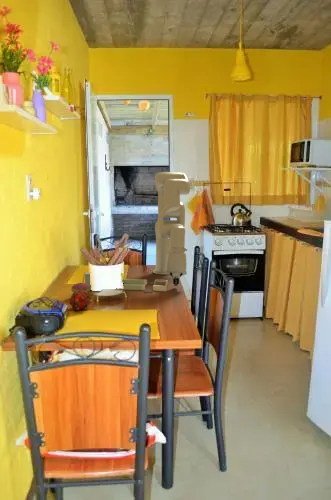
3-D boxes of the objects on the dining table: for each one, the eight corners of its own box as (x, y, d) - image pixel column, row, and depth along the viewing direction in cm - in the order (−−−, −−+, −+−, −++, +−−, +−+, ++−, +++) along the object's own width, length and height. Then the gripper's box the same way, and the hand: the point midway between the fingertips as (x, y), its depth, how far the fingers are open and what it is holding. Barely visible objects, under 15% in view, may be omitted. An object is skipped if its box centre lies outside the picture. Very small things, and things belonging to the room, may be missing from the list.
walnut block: (156, 286, 220) (156, 279, 219) (165, 287, 220) (165, 279, 219) (155, 289, 215) (155, 281, 214) (164, 289, 215) (165, 281, 214)
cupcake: (83, 294, 201) (83, 270, 199) (93, 298, 195) (93, 273, 193) (67, 297, 195) (67, 272, 193) (78, 301, 189) (77, 275, 187)
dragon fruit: (87, 308, 185) (77, 320, 174) (72, 296, 185) (60, 308, 174) (97, 294, 182) (87, 306, 171) (82, 283, 182) (70, 294, 171)
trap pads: (147, 282, 228) (147, 281, 228) (155, 282, 228) (155, 282, 228) (143, 292, 207) (143, 291, 207) (151, 292, 207) (151, 292, 207)
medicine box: (102, 289, 211) (102, 272, 209) (100, 292, 206) (100, 274, 205) (87, 289, 212) (87, 272, 210) (84, 291, 207) (84, 274, 206)
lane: (120, 283, 224) (120, 278, 224) (167, 285, 223) (167, 280, 223) (116, 289, 212) (116, 284, 212) (166, 291, 211) (166, 286, 211)
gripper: (191, 249, 217) (190, 284, 220) (162, 248, 218) (161, 283, 221) (191, 252, 210) (190, 287, 213) (161, 251, 210) (161, 286, 213)
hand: (175, 285), depth 217 cm, fingers closed
